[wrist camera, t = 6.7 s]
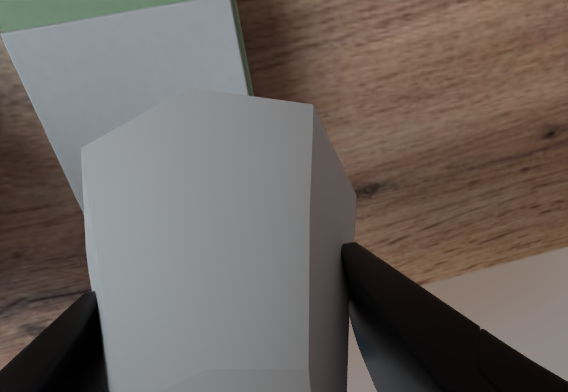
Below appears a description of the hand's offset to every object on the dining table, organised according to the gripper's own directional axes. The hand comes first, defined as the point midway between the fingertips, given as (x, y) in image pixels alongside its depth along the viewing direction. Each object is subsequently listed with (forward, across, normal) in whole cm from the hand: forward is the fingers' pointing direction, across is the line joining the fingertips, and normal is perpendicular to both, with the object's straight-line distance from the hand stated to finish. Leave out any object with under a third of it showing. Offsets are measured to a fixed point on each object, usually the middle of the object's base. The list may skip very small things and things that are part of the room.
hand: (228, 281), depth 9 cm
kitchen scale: (+12, +3, 0) cm, 13 cm away
